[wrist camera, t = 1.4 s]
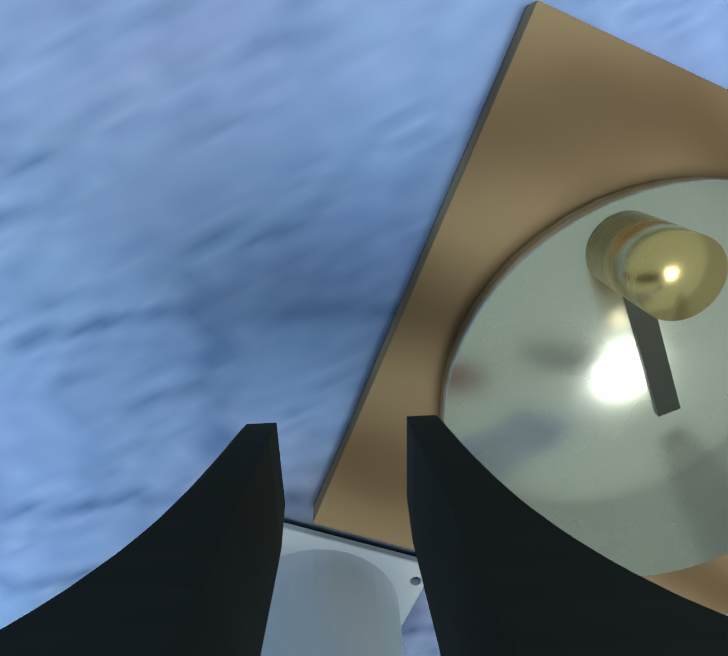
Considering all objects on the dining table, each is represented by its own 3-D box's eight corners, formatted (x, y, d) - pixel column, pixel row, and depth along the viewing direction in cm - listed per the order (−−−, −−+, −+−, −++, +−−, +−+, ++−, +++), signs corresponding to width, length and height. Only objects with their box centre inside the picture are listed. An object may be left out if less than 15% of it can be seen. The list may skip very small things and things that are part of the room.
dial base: (701, 610, 27) (733, 656, 25) (313, 506, 23) (311, 548, 21) (1009, 231, 20) (1091, 247, 18) (526, 5, 17) (555, -9, 14)
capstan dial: (884, 476, 23) (997, 553, 19) (516, 606, 24) (550, 701, 21) (849, 88, 17) (1004, 84, 13) (370, 299, 19) (379, 350, 15)
